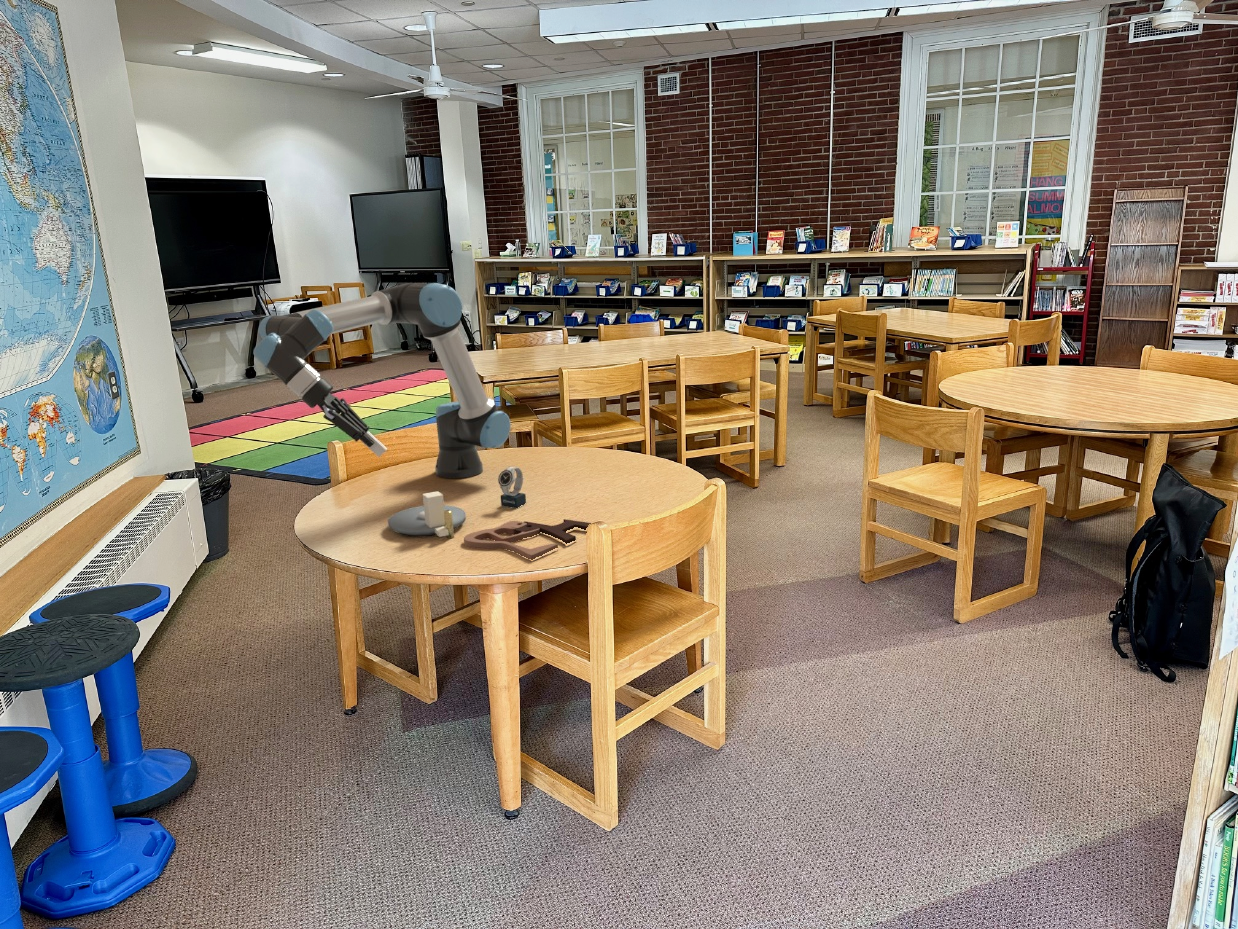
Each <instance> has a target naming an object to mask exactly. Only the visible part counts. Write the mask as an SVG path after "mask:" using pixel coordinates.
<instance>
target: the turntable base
mask: <svg viewBox="0 0 1238 929" xmlns="http://www.w3.org/2000/svg"><path fill="white" fill-rule="evenodd" d="M457 528H458V526H457V527H455V528H453V530H455V529H457ZM397 533H398V534H399V535H402V536H405V537H411V538H427V537H436V536H438V535H437V534H436V533H429V534H404V533H399V532H397Z"/></svg>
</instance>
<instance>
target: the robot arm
mask: <svg viewBox="0 0 1238 929" xmlns="http://www.w3.org/2000/svg"><path fill="white" fill-rule="evenodd" d="M462 310H463V302H462V299H461V297H460V295H459V293H458V292H457V291H456V290H455V289H454V288H453V287H451V286H449V285H447V284H442V283H439V282H438V283H437V282H430V283H422V282H421V283H419V282H417V283H416V282H410V283H403V284H400V285H395V286H392V287H388V288H385V289H381V290H377V291H374V292H372V293H371V295H370V296H367V297H361V298H358V299H357V298H356V299H352V300H347V301H344V302H339V303H338V302H337V303H334V304H329V305H325V306H320V307H315V308H311V309H306V310H301V311H297V312H294V313H287V314H283V315H277V314H275V315H274V314H272V315H269V316H266V317H264V318H263V319H262V320H261V321H260V323H259V326H258V332H259V336H260V338H261V339H262V340H261V341H259V342H258V343H257V344H256V345H255V347H254V348H253V355H254V357H255V358H256V359H257V361H259V362H260V363H261V364H262V366H263V367H264V368H265V369H267V370H269V372H271V374H273V375H274V376H275V377H277V379H279V380H280V382H282V383H284V385H285V386H287V388H289V390H288V391H289V392H293V393H294V394H295V395H296V396H298V397H301V400H302V402H304V403H305V404H306V406H308V407H309V408H310V409H314V408H315V407H317V406H318V407H319V409H320V410H321V411H322V413H324V414H323V415H322V416H323V419H325V420H327V421H328V422H330V423H331V424H333V425H334V426H336V428H338V429H339V430H341V431H342V432H343V433H345V434H346V435H348V436H349V437H350V438H351V439H352V440H354V441H355V442H359V441H360V442H362V444H364V446H366V447H367V448H368V449H369V450H370V451H371V452H372V453H374V455H376V456H377V457H378V458H380V457H381V456H382V455H383V454H384V453H385V452H386V451H387V450H388V448H387V447H386V446H385V445H384V444H383V443H382V442H381V441H380V440H379V439H378V438H376V437H375V436H374V435H373V434H372V433H371V432H370V431H369V430H370V429H371V427H370V426H368V425H367V423H366V422H364V420H363V419H362V418H361V417H360V416H359V415H358V414H357V413H356V412H355V411H354V409H352V408H351V406H350V405H349V404H348V403H347V401H346V399H344V398H339V397H337V396H335V395H333V394H332V393H331V392H332V390H333V389H334V386H333V384H331V383H330V382H329V381H328V380H327V379H326V378H324V377H321V373H320V372H318V371H317V369H315V368H314V367H313V366H311V365H310V363H308V362H307V361H306V360H305V358H307V357H308V355H310V354H311V353H312V352H314V351H315V349H317V348H318V347H319V346H320V345H321V344H322V343H324V342H326V340H327V339H328V337H330V335H332V334H336V333H337V334H338V333H340V332H341V333H343V332H346V331H350V330H354V329H358V328H362V327H367V326H370V325H375V324H380V325H382V326H386V325H389V324H409V325H411V324H412V325H418V327H419V329H420V330H419V331H420V332H421V333H422V336H423V338H424V339H427V340H430V342H431V343H432V346H433V348H434V350H435V353H436V354H437V357H438V359H439V362H440V363H441V364H440V365H441V366H442V368H443V371H444V374H445V375H446V378H447V380H448V382H449V384H450V387H451V388H452V391H453V392H454V396H455V398H456V401H451V402H446V403H442V404H439V405H438V406H436V409H435V420H436V429H437V430H436V431H437V439H438V440H437V442H438V455H437V459H436V463H435V467H434V468H435V475H436V476H437V477H440V478H443V479H462V478H470V477H474V476H477V475H480V474H481V473H483V471H484V468H483V467H484V466H483V463H482V460H481V458H480V456H479V452H478V450H477V448H476V447H481V448H484V449H489V448H490V449H497V448H500V447H501V446H502V445H504V444H505V442H506V441H507V439H508V438H509V434H510V431H511V425H512V424H511V420H510V417H509V415H508V414H507V413H506V412H504V411H503V410H499V408H498V407H497V405H496V402H495V400H494V399H493V398H492V397H489V396H487V394H486V391H485V389H484V385H482V382H481V379H480V377H479V374H478V371H477V370H476V367H475V365H474V362H473V361H472V360H473V359H472V358H471V355H470V354H469V351H468V350H469V349H467V345H466V344H465V340H464V339H463V336H462V334H461V332H460V327H461V324H462V321H461V317H462V314H463V312H462Z"/></svg>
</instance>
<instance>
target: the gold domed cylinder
mask: <svg viewBox="0 0 1238 929" xmlns="http://www.w3.org/2000/svg"><path fill="white" fill-rule="evenodd" d="M444 519H445V528H446V529H447V530H448V533H449V535H446V536H445V538H446V539H448V540H449V539H454V538H455V533H454V530H455V529H454V530H453V518H452V510H445V511H444Z"/></svg>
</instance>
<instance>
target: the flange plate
mask: <svg viewBox="0 0 1238 929" xmlns="http://www.w3.org/2000/svg"><path fill="white" fill-rule="evenodd" d="M422 500H423V505H421V506H416V507H415V506H414V507H410V508H409V507H408V508H406V509H403V510H400V511H398V512H396V513H394V514H392V515H390V516H389V518H388V520H387V524H388V525H387V526H388V528H389V529H390V530H391V531H392V532H393V531H394V532H396V533H398V532H399V533H398V534H400V533H404V534H429V533H436V534H437V535H436V536H438V537H440V538H441V537H446V535H449V533H448V530H447V529H446V528H445V519H444V511H445V510H452V518H453V528H455V527H457V526H461V525H462V524H464V523H465V521H466V519H467V516H466V511H465V510H464V509H463V508H461V507H457V506H453V505H447V504H445V502H444V495H443V493H441V492H439V491H438V490H437V491H432V492H427V493H423V494H422ZM457 528H458V527H457ZM455 529H456V528H455Z"/></svg>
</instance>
